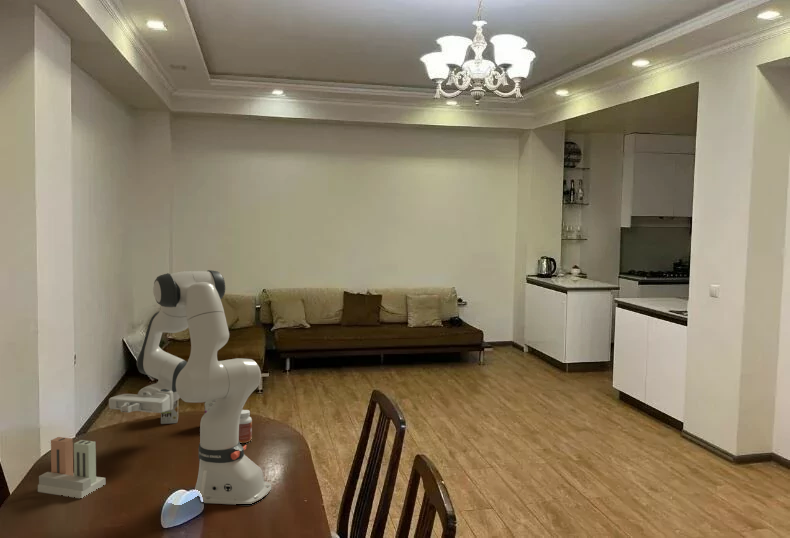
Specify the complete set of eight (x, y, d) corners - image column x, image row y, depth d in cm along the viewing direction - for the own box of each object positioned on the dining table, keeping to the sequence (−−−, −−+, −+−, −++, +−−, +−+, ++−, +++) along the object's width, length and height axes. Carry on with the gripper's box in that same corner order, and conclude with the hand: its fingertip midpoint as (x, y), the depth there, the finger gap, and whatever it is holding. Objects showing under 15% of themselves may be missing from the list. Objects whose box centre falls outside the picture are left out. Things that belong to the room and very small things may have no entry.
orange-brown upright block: (73, 477, 188) (72, 438, 187) (65, 481, 185) (64, 442, 184) (59, 475, 189) (58, 436, 188) (51, 479, 186) (50, 440, 185)
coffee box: (178, 423, 244) (178, 382, 243) (160, 424, 242) (160, 383, 241) (178, 415, 253) (178, 376, 251) (161, 416, 251) (161, 377, 249)
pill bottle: (254, 442, 226) (254, 412, 225) (237, 445, 223) (237, 415, 222) (248, 437, 231) (248, 408, 230) (231, 440, 228) (232, 410, 227)
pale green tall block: (96, 481, 186) (95, 441, 185) (88, 485, 183) (87, 445, 182) (81, 478, 187) (81, 439, 186) (73, 483, 184) (73, 443, 183)
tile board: (105, 484, 188) (105, 469, 188) (81, 498, 179) (81, 483, 178) (63, 478, 192) (63, 463, 192) (37, 491, 182) (37, 476, 182)
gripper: (124, 387, 216) (96, 398, 202) (176, 391, 211) (151, 402, 198) (124, 405, 216) (96, 417, 203) (177, 409, 211) (152, 421, 198)
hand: (124, 409), depth 200 cm, fingers closed
